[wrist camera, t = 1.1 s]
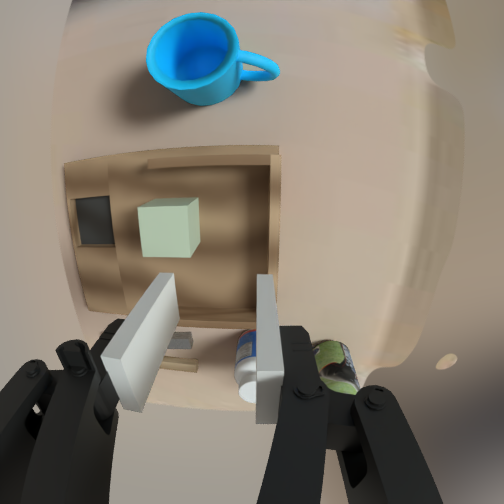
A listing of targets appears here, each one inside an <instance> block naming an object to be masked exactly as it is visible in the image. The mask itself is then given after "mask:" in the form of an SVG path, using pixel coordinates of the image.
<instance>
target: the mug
mask: <svg viewBox="0 0 504 504" xmlns="http://www.w3.org/2000/svg"><path fill="white" fill-rule="evenodd" d="M146 63H147V67H148V70H149V72H150V74H151V75H152V76H153V78H154V79H155V80H156V81H157V82H158V83H160V84H161V85H163V86H164V87H166V88H167V89H169V90H170V91H172V92H173V93H174V94H176V95H177V96H179V97H180V98H182V99H183V100H185V101H186V102H188V103H190V104H194V105H198V106H204V105H213V104H216V103H219V102H222V101H223V100H225V99H226V98H228V97H230V96H231V95H232V94H233V93H234V92H235V90H236V89H237V88H238V87H239V84H240V82H241V80H245V81H269V80H274V79H275V78H277V77H278V76H279V74H280V69H279V67H278V65H277V64H276V63H275V62H273V61H272V60H270V59H268V58H266V57H264V56H261V55H258V54H255V53H251V52H248V51H243V50H240V46H239V40H238V37H237V35H236V32H235V29H234V28H233V27H232V26H231V25H230V24H229V23H228V22H227V21H226V20H225V19H223V18H221V17H219V16H217V15H215V14H209V13H203V12H199V13H190V14H185V15H182V16H180V17H177V18H174V19H172V20H171V21H169V22H168V23H166V24H165V25H164V26H162V27H161V28H160V29H159V30H158V31H157V33H156V34H155V35H154V36H153V37H152V39H151V42H150V44H149V46H148V48H147V55H146ZM242 63H246V64H249V65H253V66H256V67H259V68H262V69H264V70H266V71H246V70H243V65H242Z"/></svg>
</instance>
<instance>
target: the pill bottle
mask: <svg viewBox="0 0 504 504" xmlns="http://www.w3.org/2000/svg"><path fill="white" fill-rule="evenodd" d="M234 377H235V380H236V382H237V384H238V385H239V395H240V397H241V398H242V399H243V400H245V401H247V402H250V403H256V329H250V330H247V331H245V332H244V333H243V334H242V335H241V336H240V338H239V340H238V345H237V353H236V362H235V372H234Z"/></svg>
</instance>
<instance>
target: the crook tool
mask: <svg viewBox="0 0 504 504" xmlns="http://www.w3.org/2000/svg"><path fill="white" fill-rule="evenodd" d="M192 345H193V338H192V334H191V332H174V333H173V336H172V338H171V341H170V343H169V345H168V348H167V349H191V348H192Z"/></svg>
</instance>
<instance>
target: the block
mask: <svg viewBox="0 0 504 504" xmlns="http://www.w3.org/2000/svg"><path fill="white" fill-rule="evenodd" d="M137 208H138V219H139V229H140V238H141V246H142V254H143V257H181V258H191V256H192V254H193V253H194V251H195V250H196V248H197V246H198V245H199V243H200V224H199V200H198V197H190V198H162V199H154V200H152V201H150V202H147V203H145V204H143V205H141V206H139V207H137Z"/></svg>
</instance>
